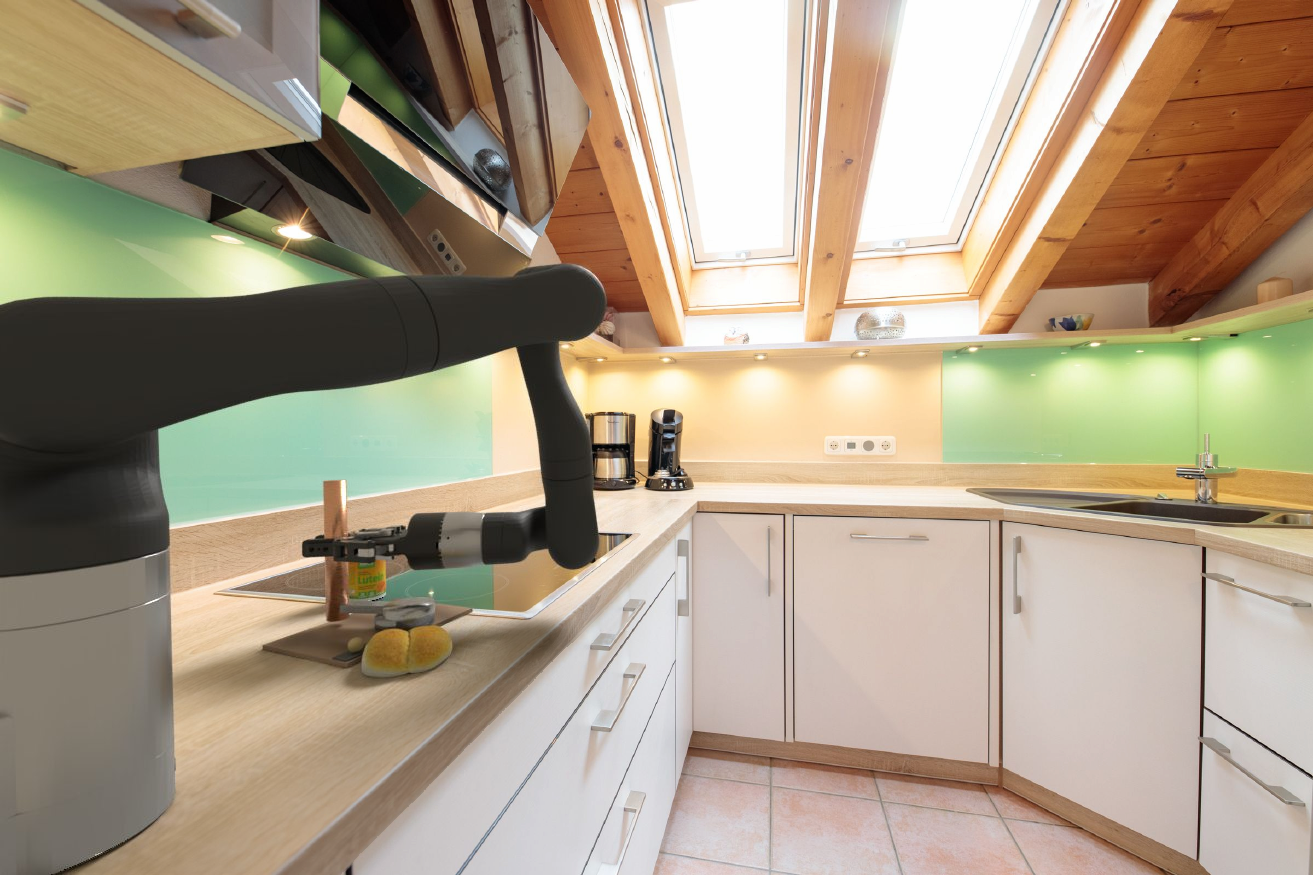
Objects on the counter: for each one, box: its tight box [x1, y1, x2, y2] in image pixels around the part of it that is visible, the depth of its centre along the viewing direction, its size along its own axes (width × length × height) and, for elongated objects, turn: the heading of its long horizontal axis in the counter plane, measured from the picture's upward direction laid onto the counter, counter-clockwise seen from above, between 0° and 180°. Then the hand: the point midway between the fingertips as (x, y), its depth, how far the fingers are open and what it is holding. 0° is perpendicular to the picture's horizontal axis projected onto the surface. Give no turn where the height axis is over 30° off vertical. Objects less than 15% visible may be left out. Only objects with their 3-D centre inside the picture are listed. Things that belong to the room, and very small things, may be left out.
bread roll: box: [361, 625, 453, 679], centre depth 58 cm, size 8×9×4 cm
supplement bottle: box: [348, 559, 387, 601], centre depth 81 cm, size 5×5×10 cm
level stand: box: [261, 597, 473, 669], centre depth 67 cm, size 19×14×2 cm
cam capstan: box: [322, 479, 436, 631], centre depth 67 cm, size 14×6×18 cm, turn 84°
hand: (310, 545), depth 67 cm, fingers closed on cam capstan, 2 cm apart
